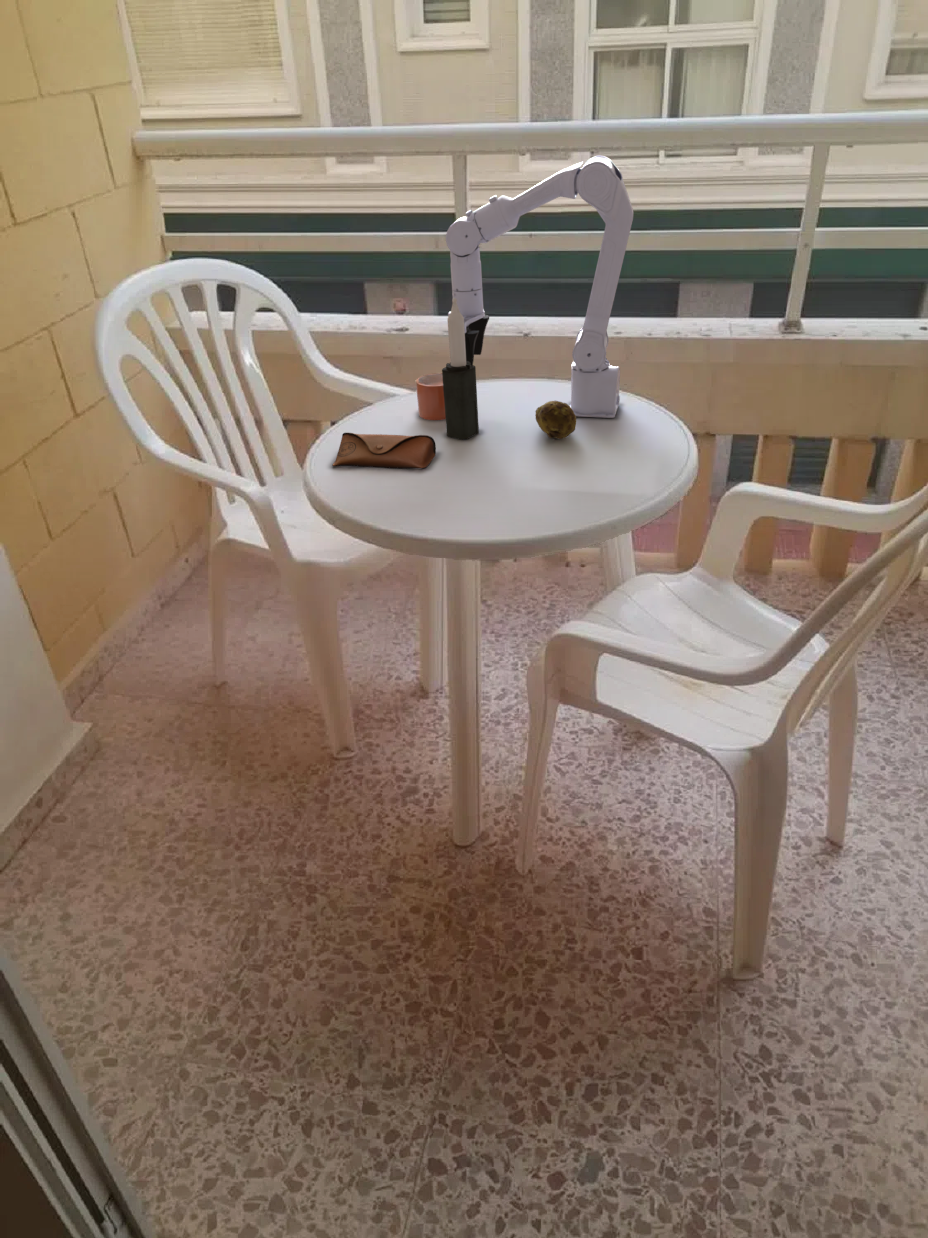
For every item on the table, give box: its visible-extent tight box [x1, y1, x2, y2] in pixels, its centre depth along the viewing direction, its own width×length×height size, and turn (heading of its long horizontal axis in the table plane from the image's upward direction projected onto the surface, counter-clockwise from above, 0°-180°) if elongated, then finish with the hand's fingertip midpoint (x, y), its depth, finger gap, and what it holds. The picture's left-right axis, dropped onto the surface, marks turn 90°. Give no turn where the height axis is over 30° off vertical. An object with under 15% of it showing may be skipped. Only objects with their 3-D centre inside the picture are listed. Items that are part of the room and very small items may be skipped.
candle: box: [441, 297, 480, 441], centre depth 151 cm, size 5×5×25 cm
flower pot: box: [415, 372, 446, 421], centre depth 166 cm, size 8×8×7 cm
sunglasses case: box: [331, 432, 437, 470], centre depth 149 cm, size 18×7×7 cm
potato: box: [535, 400, 577, 440], centre depth 151 cm, size 8×13×8 cm, turn 166°
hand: (471, 360), depth 163 cm, fingers open, 7 cm apart
